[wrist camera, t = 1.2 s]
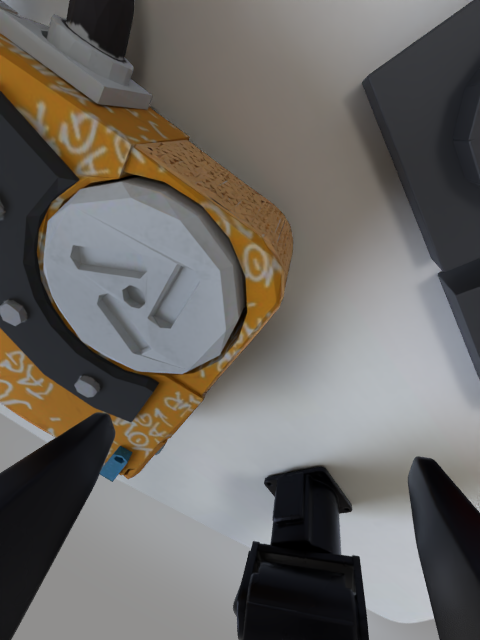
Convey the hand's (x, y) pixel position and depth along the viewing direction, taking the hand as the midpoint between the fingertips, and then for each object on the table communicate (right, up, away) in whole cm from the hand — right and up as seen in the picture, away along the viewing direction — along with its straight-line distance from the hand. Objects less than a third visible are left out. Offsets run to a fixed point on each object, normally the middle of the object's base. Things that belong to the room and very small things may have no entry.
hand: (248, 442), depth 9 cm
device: (-9, +9, +13) cm, 18 cm away
